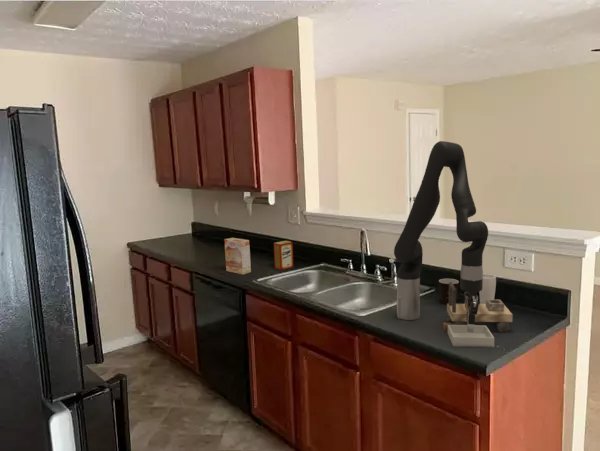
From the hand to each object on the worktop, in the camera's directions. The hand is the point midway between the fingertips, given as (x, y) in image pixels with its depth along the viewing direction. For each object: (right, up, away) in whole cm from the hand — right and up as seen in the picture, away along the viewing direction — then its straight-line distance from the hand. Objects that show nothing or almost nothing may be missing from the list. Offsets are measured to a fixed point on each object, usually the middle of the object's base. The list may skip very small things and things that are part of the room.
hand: (470, 322), depth 175 cm
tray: (0, -7, +1) cm, 7 cm away
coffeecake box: (-99, +8, +112) cm, 150 cm away
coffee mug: (+7, 0, +43) cm, 44 cm away
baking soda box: (-72, +9, +118) cm, 138 cm away
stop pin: (0, -3, +1) cm, 3 cm away
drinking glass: (+18, -1, +32) cm, 37 cm away
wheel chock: (-5, -5, +11) cm, 13 cm away
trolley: (+8, -4, +14) cm, 17 cm away
